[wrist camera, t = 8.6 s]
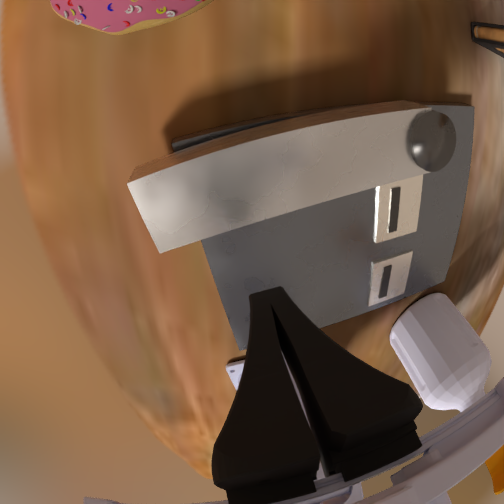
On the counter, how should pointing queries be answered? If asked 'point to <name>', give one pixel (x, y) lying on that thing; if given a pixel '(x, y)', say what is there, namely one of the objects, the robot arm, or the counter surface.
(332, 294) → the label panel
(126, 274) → the counter surface
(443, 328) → the soap bottle
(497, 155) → the counter surface
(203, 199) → the white long bar
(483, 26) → the ammunition clip
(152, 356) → the counter surface
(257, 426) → the robot arm
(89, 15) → the cupcake
